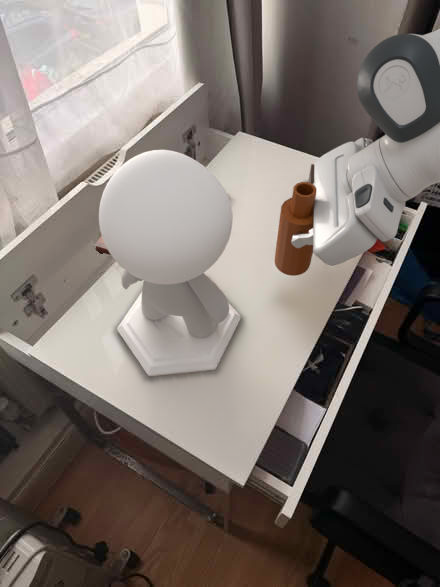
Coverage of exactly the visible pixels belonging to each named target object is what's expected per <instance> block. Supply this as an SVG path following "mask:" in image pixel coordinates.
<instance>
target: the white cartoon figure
mask: <svg viewBox="0 0 440 587" xmlns="http://www.w3.org/2000/svg"><path fill="white" fill-rule="evenodd" d="M233 216H234V215H233V208H232V204H231V200H230V198H229V194H228V193H227V192H226V188H225V187H224V186H223V185H222V183H221V182H220V180H218V178H217V177H216V176H215V175H214V173H213V172H211V171H210V170H209V169H208V168H207V167H206V166H204V165H203V164H201V163H200V162H199V161H197V160H195V159H194V158H192V157H190V156H188V155H186V154H184V153H181V152H178V151H175V150H168V149H154V150H148V151H144V152H141V153H139V154H136V155H135V156H133V157H132V158H130V159H128V160H127V161H126V162H124V163H123V164H122V165H120V166H119V167H118V168H117V170H115V172H114V173H113V174H112V176H111V177H110V178H109V180H108V181H107V183H106V185H105V188H103V192H102V195H101V198H100V201H99V209H98V224H99V230H100V234H101V235H102V238H103V241H104V243H105V245H106V247H107V249H108V251H109V253H110V254H111V255H110V256H111V257H112V258H113V259H114V261H115V262H116V263H117V264H118V266H120V267H121V268H122V269H123V270H122V273H121V275H120V276H121V278H120V280H121V281H120V282H121V286H122V288H123V289H125V290H128V288H129V287H130V286H131V285H134V284H136V283H138V282H142V281H143V283H142V290H141V292H140V293H139V296H138V297H137V298H136V300H135V301H134V303H133V304H132V305H131V307H130V308H129V310H128V312H127V313H126V314H125V316H124V317H123V319H122V320H121V322H120V323H119V325H118V326H117V328H116V330H117V332H118V333H119V335H120V337H122V339H123V341H124V342H125V344H126V345H127V347H128V349H130V351H131V353H132V354H133V355H134V357H135V358H136V360H137V361H138V363H139V364H140V366H141V368H142V369H143V370H144V371H145V373H146V374H147V377H157V376H158V377H159V376H168V375H179V374H189V373H198V372H206V371H207V372H209V371H216V369H217V367H218V366H219V363H220V361H221V360H222V357H223V355H224V354H225V352H226V350H227V348H228V345H229V343H230V341H231V340H232V337H233V335H234V333H235V331H236V329H237V327H238V325H239V323H240V321H241V319H242V316H241V315H240V314H239V313H238V312H237V311H236V309H235V307H233V306H232V305H231V304H230V302H229V301H228V298H227V296H226V295H225V294H224V292H223V290H221V289H220V287H219V286H218V285H217V284H216V283H215V282H214V281H213V280H212V279H211V278H210V277H209V276H208V275H207V274H206V273H205V272H206V271H208V270H209V269H210V268H212V267H213V266H214V265H215V264H216V262H217V261H218V260H219V259H220V257H221V256H222V254H223V253H224V251H225V250H226V247H227V245H228V243H229V240H230V237H231V233H232V228H233V220H234V219H233ZM101 235H100V236H101Z"/></svg>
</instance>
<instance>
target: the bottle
mask: <svg viewBox="0 0 440 587" xmlns="http://www.w3.org/2000/svg"><path fill="white" fill-rule="evenodd" d="M291 195H292V196H291V197H290V198H288V199H286V200H284V202H283V203H282V204H281V206H280V212H279V220H278V223H279V224H278V229H277V235H276V236H277V237H276V244H275V245H276V246H275V252H274V264H275V265H274V266H275V267H276V269H277V270H278V271H279V272H280V273H282V274H284V275H287V276H292V277H293V276H301V275H303V274H305V273H306V272H307V271H308V270H309V268H310V265H311V263H312V258H313V254H314V252H313V245H307V244H306V245H304V246H302V247H301V248H296V247H295V246H293V245H292V244H291V241H292V235H293V234H295V233H297V232H298V231H301V232H302V233H303V234H309V230H311V229H312V228H313V225H314V201H315V197H316V187H315V186H314V185H313V184H311V183H309V182H308V181H299V182H297V183H296V184H295V185H294V186H293V189H292V194H291Z"/></svg>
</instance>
